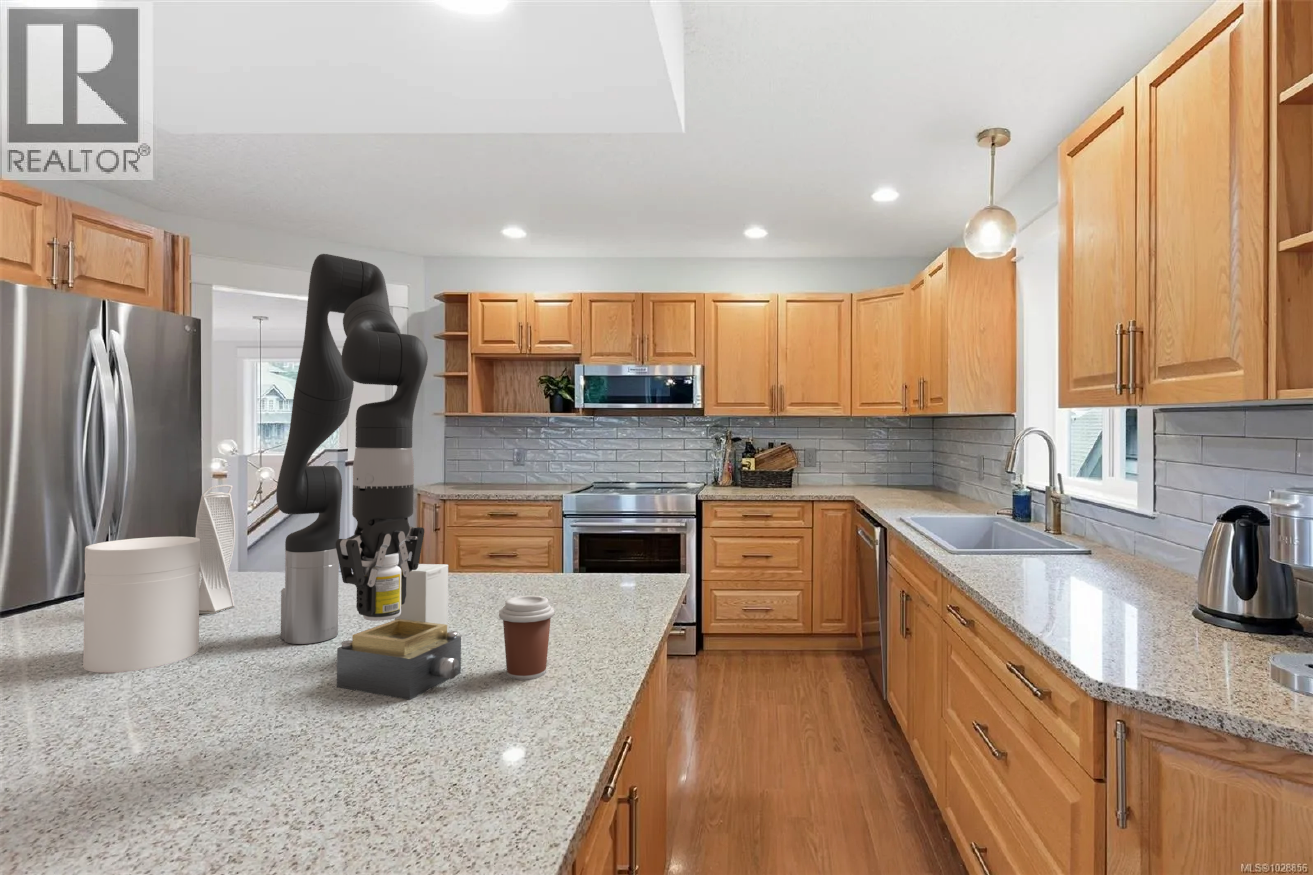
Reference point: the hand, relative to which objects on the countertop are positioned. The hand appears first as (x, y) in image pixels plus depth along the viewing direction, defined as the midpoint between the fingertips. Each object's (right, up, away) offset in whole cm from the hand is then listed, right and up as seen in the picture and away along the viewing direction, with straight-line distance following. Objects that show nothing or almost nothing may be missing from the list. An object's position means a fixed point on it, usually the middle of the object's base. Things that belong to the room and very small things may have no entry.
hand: (381, 608), depth 87 cm
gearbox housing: (-3, -16, +17) cm, 23 cm away
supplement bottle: (0, -1, 0) cm, 1 cm away
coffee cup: (+15, -16, +21) cm, 31 cm away
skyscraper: (-63, -16, +60) cm, 89 cm away
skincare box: (-6, -16, +31) cm, 35 cm away
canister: (-54, -16, +28) cm, 62 cm away
